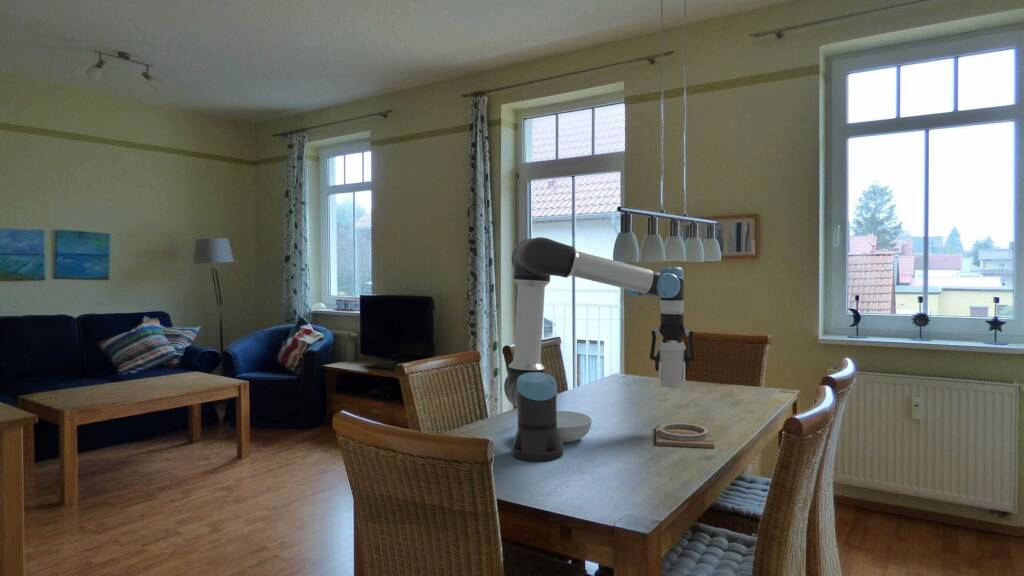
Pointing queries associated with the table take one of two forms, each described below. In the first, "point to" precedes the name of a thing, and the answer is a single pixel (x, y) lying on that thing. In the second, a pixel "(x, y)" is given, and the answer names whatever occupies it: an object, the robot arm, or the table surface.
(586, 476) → the table surface
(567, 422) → the serving bowl
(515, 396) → the robot arm
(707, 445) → the carrier board
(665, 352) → the coffee cup
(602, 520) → the table surface
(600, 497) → the table surface
